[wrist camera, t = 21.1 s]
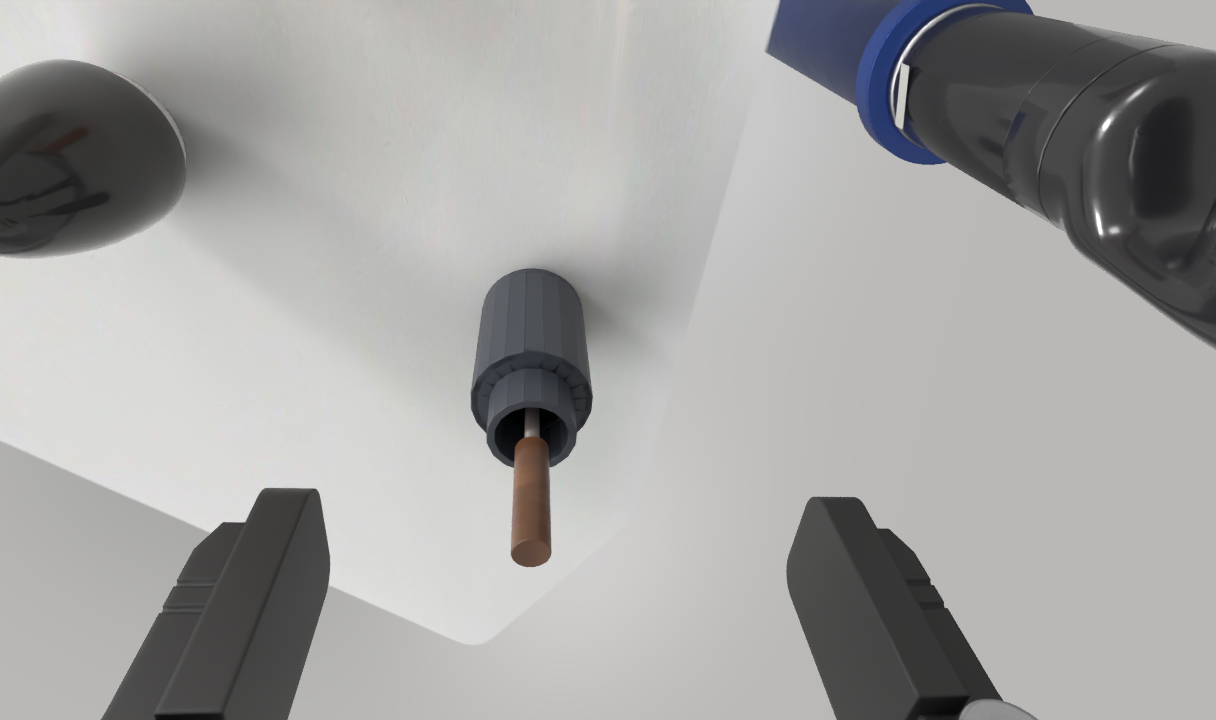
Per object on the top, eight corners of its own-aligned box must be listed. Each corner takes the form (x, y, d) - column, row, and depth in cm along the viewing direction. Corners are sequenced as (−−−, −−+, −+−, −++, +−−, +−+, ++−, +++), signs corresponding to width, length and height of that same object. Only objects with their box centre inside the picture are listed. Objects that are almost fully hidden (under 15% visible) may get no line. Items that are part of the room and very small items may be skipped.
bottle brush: (550, 303, 54) (559, 535, 33) (548, 332, 55) (555, 571, 35) (516, 301, 53) (505, 535, 33) (515, 330, 55) (504, 571, 34)
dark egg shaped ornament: (95, 8, 41) (-105, 49, 28) (242, 147, 46) (129, 236, 33) (-3, 116, 44) (-226, 198, 31) (147, 236, 49) (8, 350, 36)
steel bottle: (585, 271, 53) (601, 386, 40) (577, 356, 57) (590, 485, 44) (483, 265, 52) (465, 381, 39) (482, 353, 56) (466, 484, 43)
